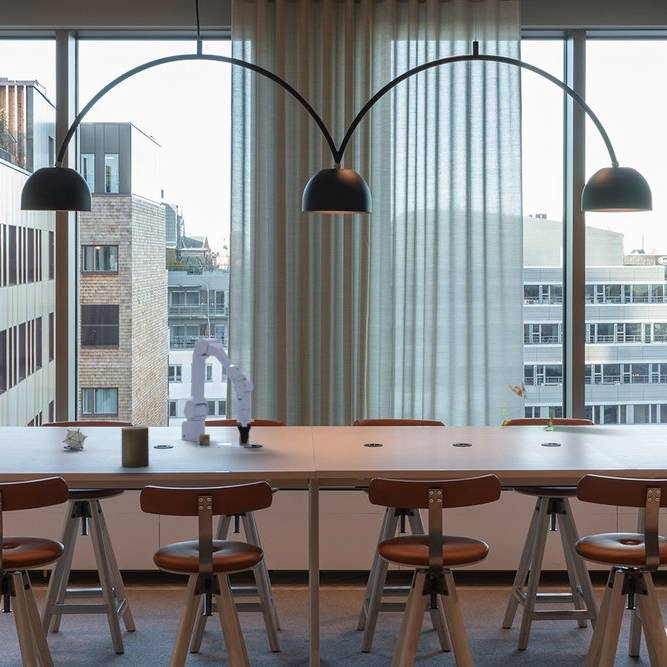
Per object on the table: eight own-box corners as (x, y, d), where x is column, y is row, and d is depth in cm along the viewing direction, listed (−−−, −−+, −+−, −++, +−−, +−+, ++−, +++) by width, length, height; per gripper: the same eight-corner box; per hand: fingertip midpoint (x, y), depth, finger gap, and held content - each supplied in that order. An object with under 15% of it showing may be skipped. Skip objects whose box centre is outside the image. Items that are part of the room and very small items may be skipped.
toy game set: (500, 431, 507) (494, 382, 507) (554, 425, 502) (547, 375, 502) (499, 437, 486) (492, 385, 486) (554, 431, 481) (547, 379, 481)
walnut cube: (199, 445, 430) (199, 435, 430) (199, 444, 434) (199, 434, 434) (209, 445, 430) (209, 435, 430) (209, 444, 434) (209, 434, 434)
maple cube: (239, 445, 431) (239, 435, 431) (239, 443, 435) (239, 433, 435) (249, 444, 432) (249, 435, 431) (249, 443, 436) (249, 433, 435)
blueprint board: (196, 448, 424) (196, 447, 424) (197, 443, 439) (197, 442, 439) (251, 448, 426) (251, 446, 426) (251, 443, 441) (251, 441, 441)
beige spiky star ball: (70, 458, 422) (54, 439, 421) (81, 448, 430) (66, 429, 428) (84, 449, 418) (68, 429, 417) (95, 439, 425) (79, 419, 424)
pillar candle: (149, 467, 380) (149, 425, 379) (121, 467, 378) (121, 425, 377) (148, 463, 389) (148, 422, 389) (121, 464, 387) (121, 422, 387)
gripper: (254, 410, 426) (254, 444, 426) (253, 407, 440) (253, 439, 441) (236, 411, 425) (236, 444, 426) (236, 407, 440) (236, 439, 440)
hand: (244, 442), depth 433 cm, fingers open, 5 cm apart
